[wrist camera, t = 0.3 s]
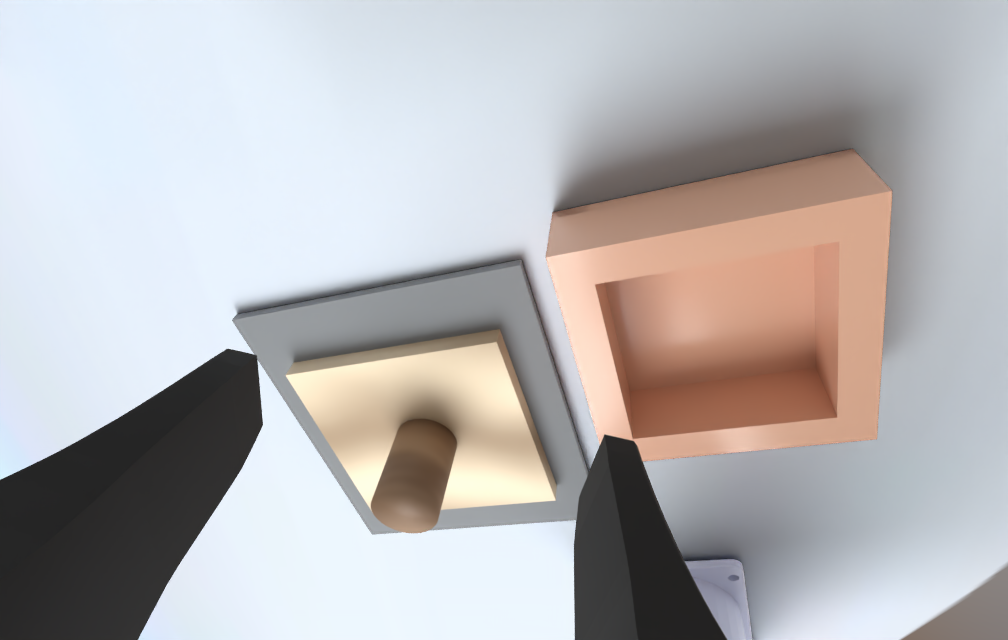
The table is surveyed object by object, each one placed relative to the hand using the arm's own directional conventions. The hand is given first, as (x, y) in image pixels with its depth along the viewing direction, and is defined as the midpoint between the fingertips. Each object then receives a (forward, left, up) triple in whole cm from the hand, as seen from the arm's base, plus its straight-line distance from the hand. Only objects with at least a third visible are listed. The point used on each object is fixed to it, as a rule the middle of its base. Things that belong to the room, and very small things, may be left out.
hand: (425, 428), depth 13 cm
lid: (-9, +6, -10) cm, 14 cm away
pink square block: (-5, -6, -10) cm, 13 cm away
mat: (-9, +6, -10) cm, 14 cm away
